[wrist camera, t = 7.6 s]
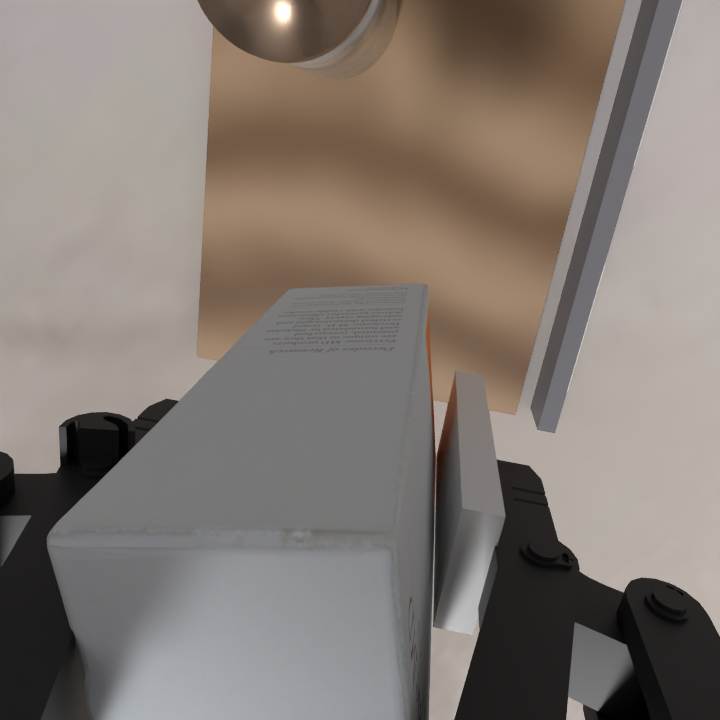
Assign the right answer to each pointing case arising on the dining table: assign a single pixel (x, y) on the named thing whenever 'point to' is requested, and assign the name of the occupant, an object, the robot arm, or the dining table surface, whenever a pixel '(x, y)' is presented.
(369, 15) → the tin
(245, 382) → the skincare box
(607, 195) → the rail
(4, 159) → the dining table surface
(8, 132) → the dining table surface
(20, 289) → the dining table surface
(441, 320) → the wooden cutting board
